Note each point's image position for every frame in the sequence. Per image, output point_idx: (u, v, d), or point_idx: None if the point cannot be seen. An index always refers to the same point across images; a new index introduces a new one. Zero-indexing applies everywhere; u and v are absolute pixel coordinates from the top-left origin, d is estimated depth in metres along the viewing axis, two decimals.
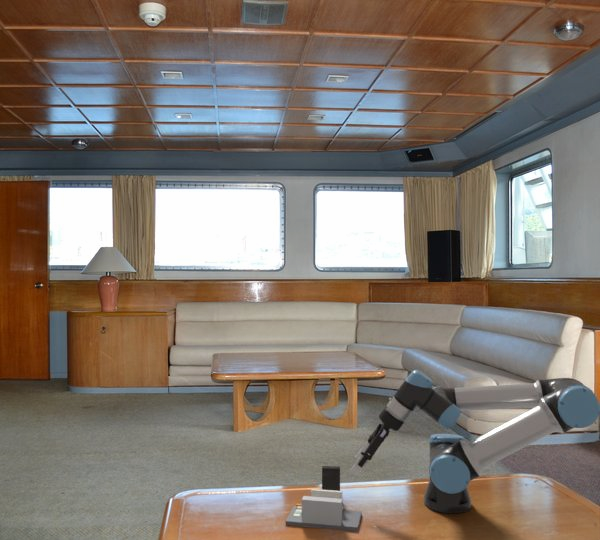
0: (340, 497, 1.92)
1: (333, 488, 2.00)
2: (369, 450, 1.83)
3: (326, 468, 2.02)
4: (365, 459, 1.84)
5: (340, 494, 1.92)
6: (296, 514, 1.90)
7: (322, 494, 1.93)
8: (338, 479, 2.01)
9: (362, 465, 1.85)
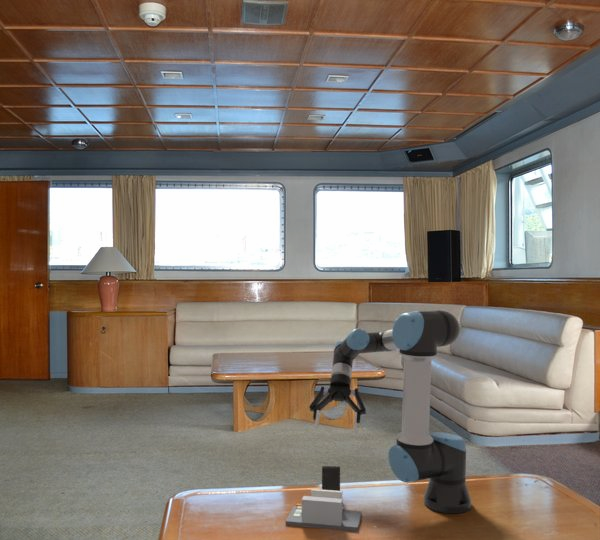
0: (340, 497, 1.92)
1: (333, 488, 2.00)
2: None
3: (326, 468, 2.02)
4: (313, 411, 2.18)
5: (340, 494, 1.92)
6: (296, 514, 1.90)
7: (322, 494, 1.93)
8: (338, 479, 2.01)
9: (313, 416, 2.16)
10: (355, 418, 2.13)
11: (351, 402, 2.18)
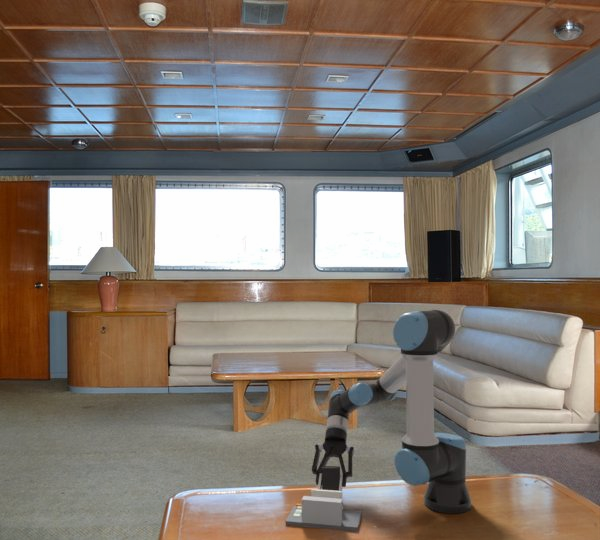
0: (340, 497, 1.92)
1: (333, 488, 2.00)
2: None
3: (326, 468, 2.02)
4: None
5: (340, 494, 1.92)
6: (296, 514, 1.90)
7: (322, 494, 1.93)
8: (338, 479, 2.01)
9: None
10: (340, 482, 2.00)
11: (341, 461, 2.05)
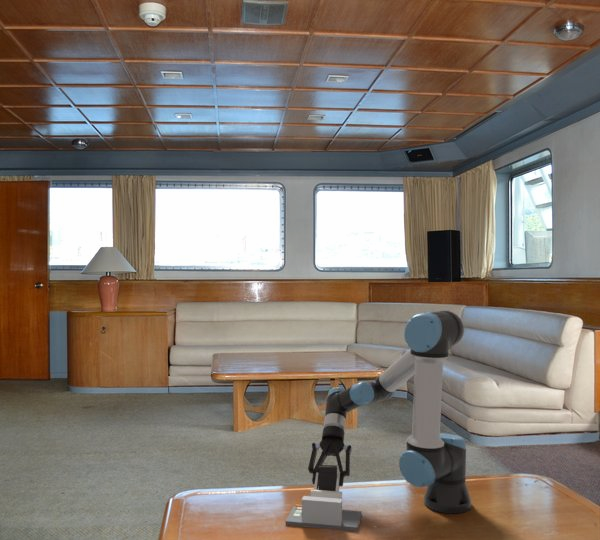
0: (340, 498, 1.91)
1: (330, 487, 1.95)
2: None
3: (323, 467, 1.97)
4: (313, 474, 2.00)
5: (340, 495, 1.91)
6: (296, 514, 1.90)
7: (322, 495, 1.92)
8: (335, 478, 1.96)
9: (312, 480, 1.98)
10: (337, 481, 1.96)
11: (338, 460, 2.01)
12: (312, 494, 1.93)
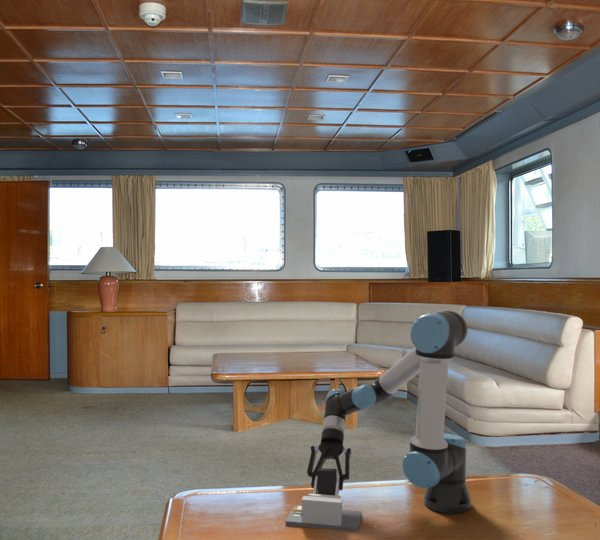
0: None
1: (329, 491, 1.92)
2: None
3: (322, 470, 1.94)
4: (312, 478, 1.96)
5: None
6: (296, 514, 1.90)
7: None
8: (334, 482, 1.93)
9: (311, 483, 1.94)
10: (337, 485, 1.92)
11: (338, 464, 1.97)
12: None
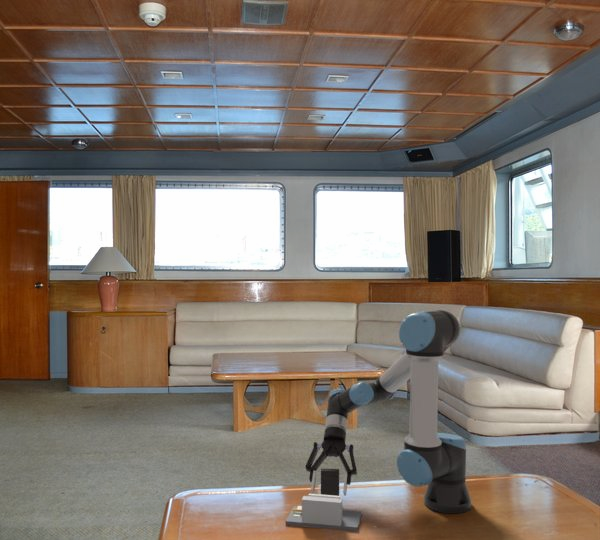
0: None
1: (332, 491, 1.97)
2: None
3: (325, 471, 1.99)
4: (310, 472, 2.03)
5: None
6: (296, 514, 1.90)
7: None
8: (337, 482, 1.98)
9: (309, 477, 2.01)
10: (345, 480, 1.98)
11: (343, 460, 2.03)
12: None
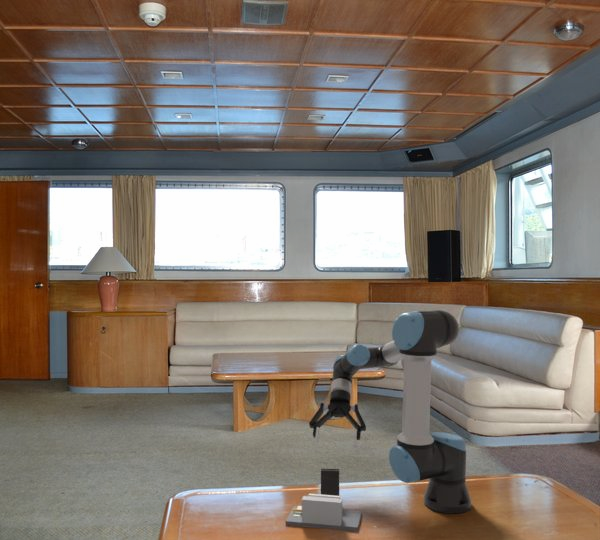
0: None
1: (332, 491, 1.97)
2: None
3: (325, 470, 1.99)
4: (313, 428, 2.16)
5: None
6: (296, 514, 1.90)
7: None
8: (337, 482, 1.98)
9: None
10: (355, 435, 2.11)
11: (351, 418, 2.16)
12: None
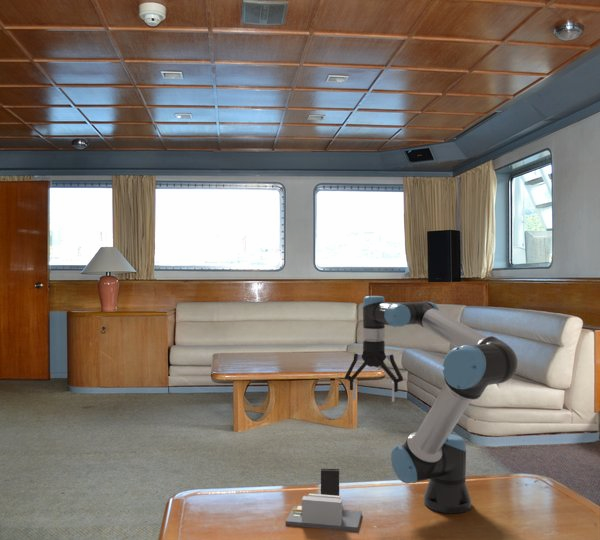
0: None
1: (332, 491, 1.97)
2: None
3: (325, 471, 1.99)
4: None
5: None
6: (296, 514, 1.90)
7: None
8: (337, 482, 1.98)
9: None
10: (393, 390, 2.11)
11: (387, 371, 2.11)
12: None
